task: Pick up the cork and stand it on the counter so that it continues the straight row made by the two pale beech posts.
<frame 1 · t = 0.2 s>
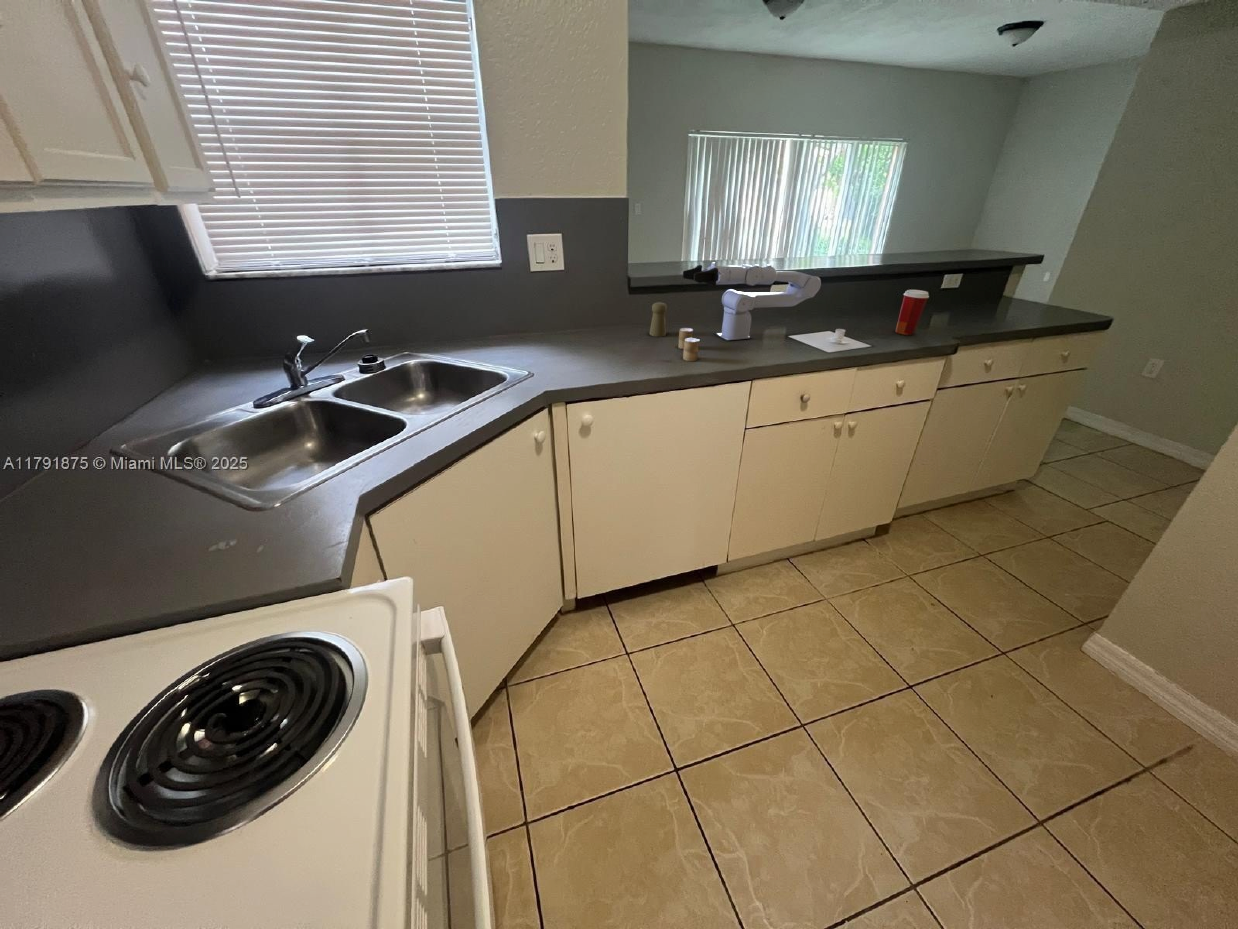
hand: (688, 275, 157), 22 cm above the worktop, tool horizontal, fingers open, 7 cm apart
post 1: (684, 347, 162), on the worktop
coffee cup: (903, 333, 184), on the worktop
cork: (657, 334, 175), on the worktop
teacup and saucer: (828, 341, 172), on the worktop
post 2: (689, 358, 152), on the worktop
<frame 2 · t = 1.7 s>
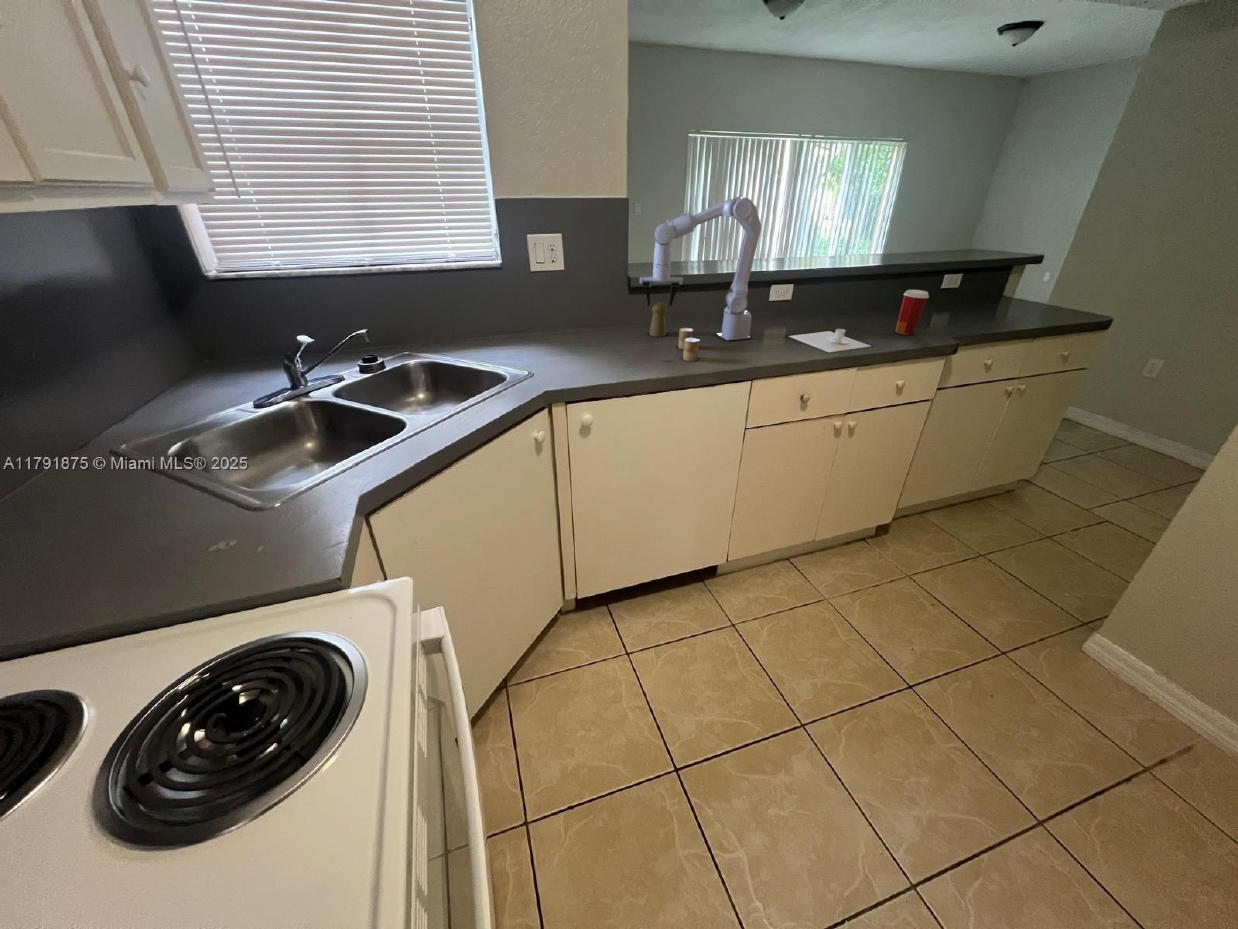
hand: (659, 305, 170), 10 cm above the worktop, tool pointing down, fingers open, 7 cm apart
nothing on the worktop moved.
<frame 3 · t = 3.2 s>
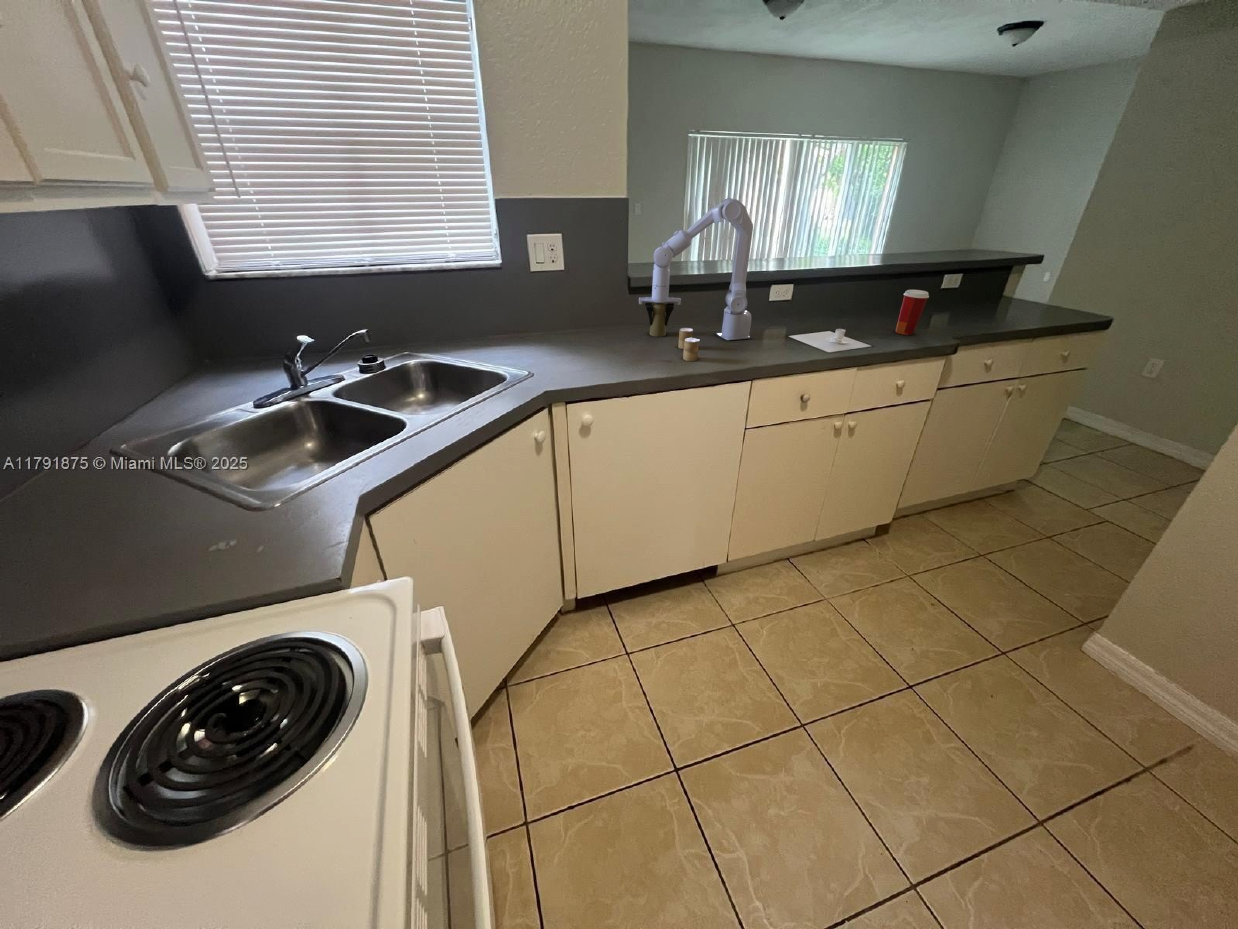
hand: (658, 324, 173), 3 cm above the worktop, tool pointing down, fingers closed on cork, 5 cm apart
cork: (657, 334, 175), on the worktop, touching gripper
everything else where it was.
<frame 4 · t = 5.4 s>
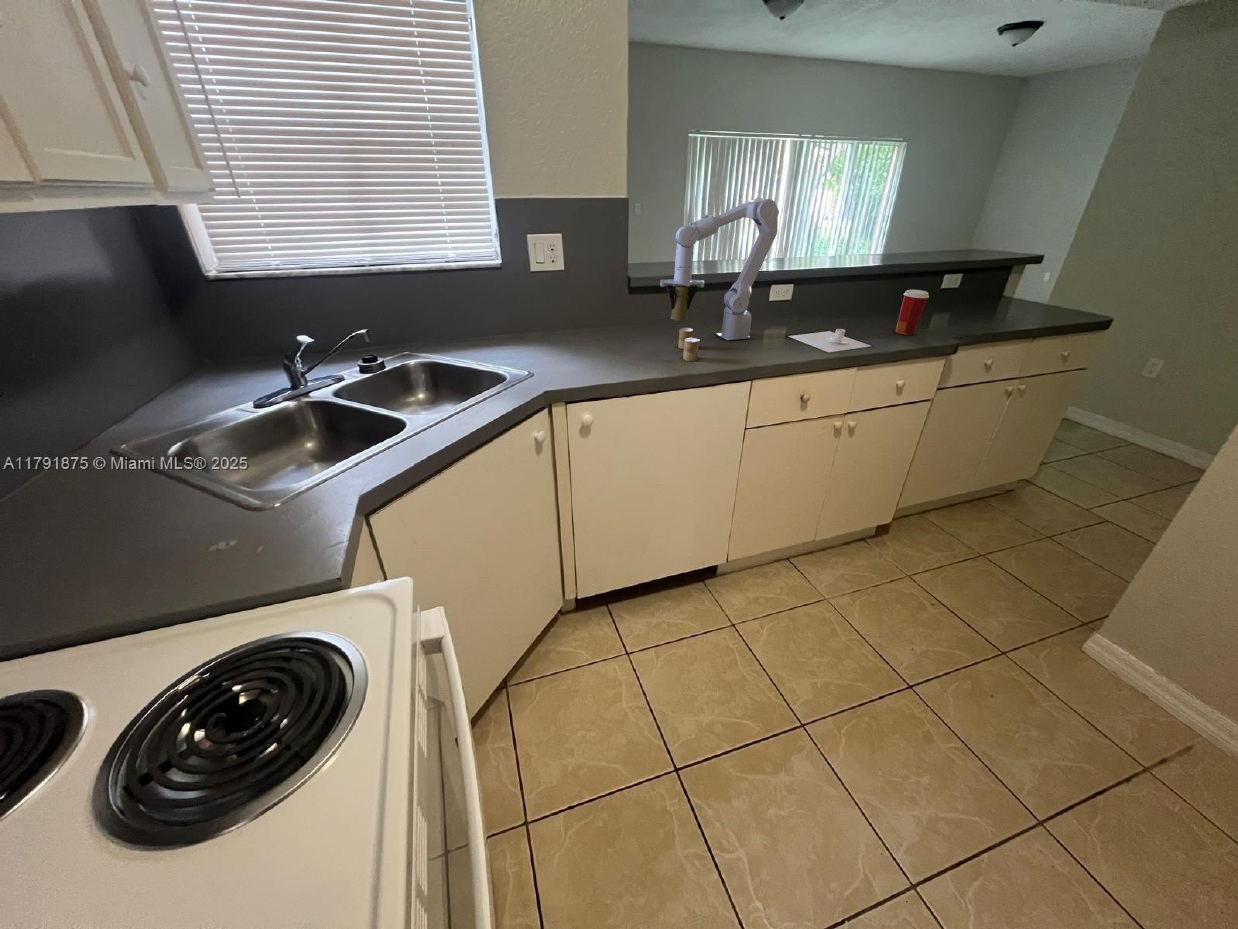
hand: (680, 308, 168), 10 cm above the worktop, tool pointing down, fingers closed on cork, 5 cm apart
cork: (679, 318, 169), point 6 cm above the worktop, touching gripper
everything else where it was.
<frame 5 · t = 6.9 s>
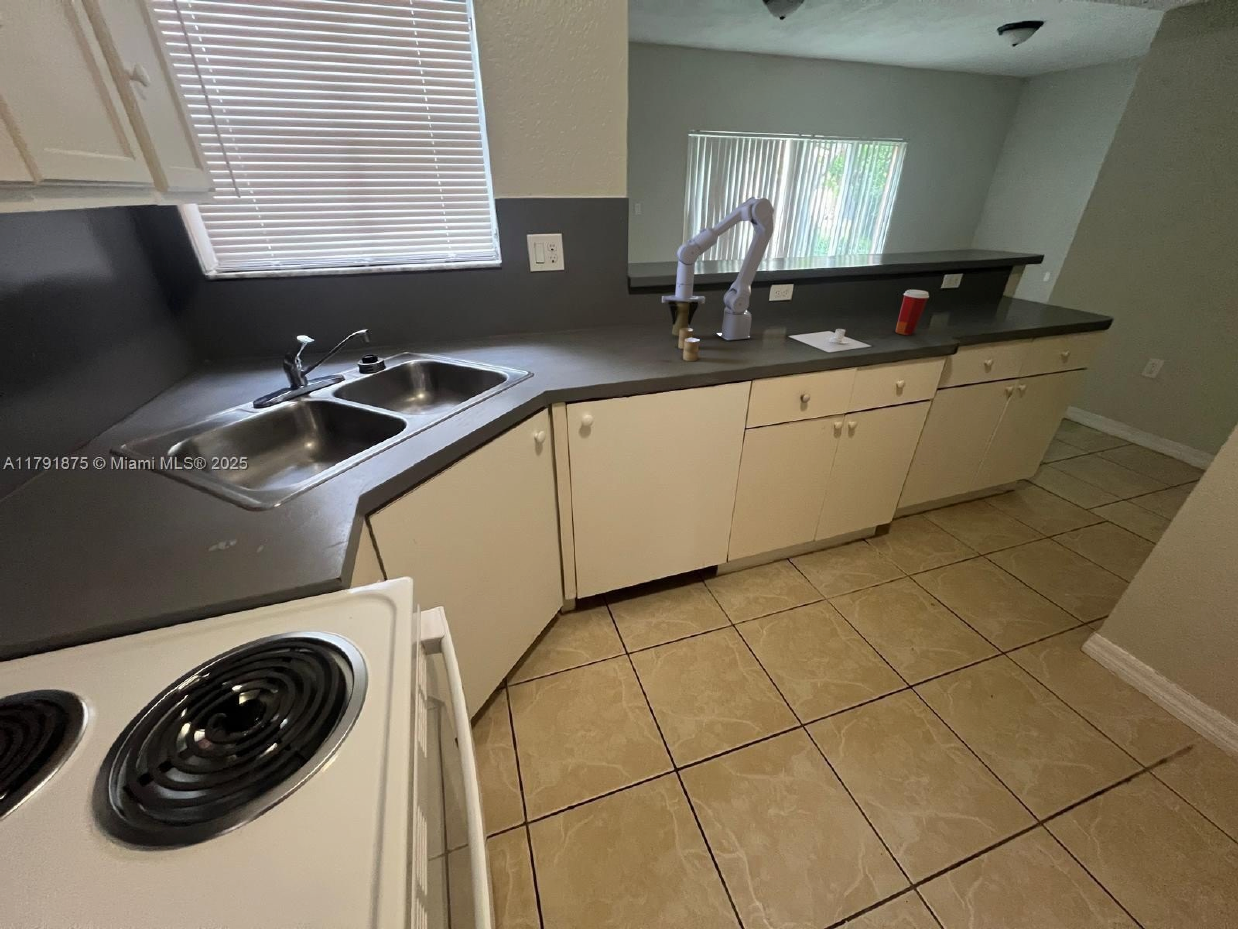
hand: (681, 323, 170), 5 cm above the worktop, tool pointing down, fingers closed on cork, 5 cm apart
cork: (680, 334, 172), point 1 cm above the worktop, touching gripper
everything else where it was.
when the fingers open (3 cm above the worktop, at t = 7.8 s): cork stays where it is, on the worktop.
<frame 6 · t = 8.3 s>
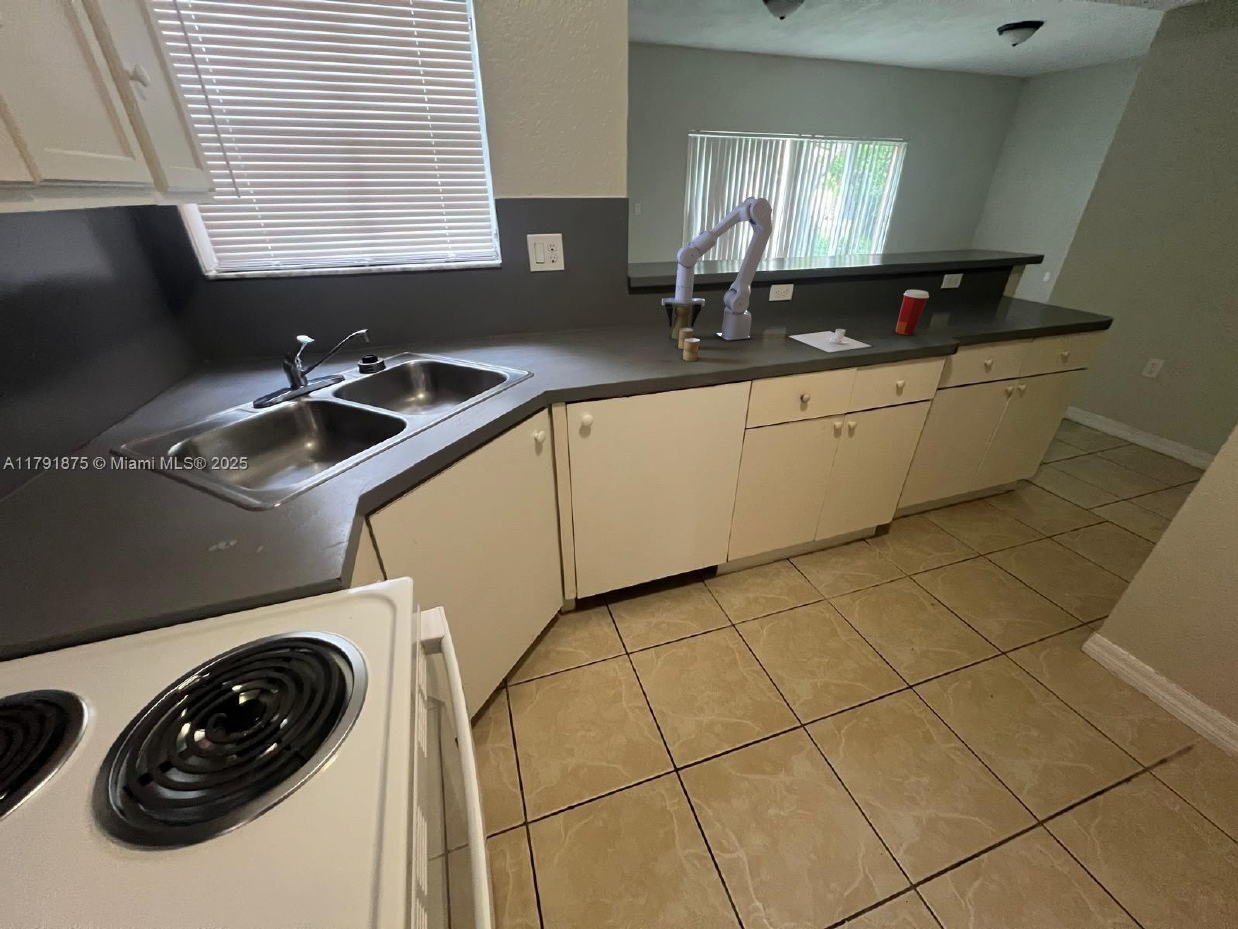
hand: (681, 326, 170), 4 cm above the worktop, tool pointing down, fingers open, 7 cm apart
cork: (680, 337, 172), on the worktop
everything else where it was.
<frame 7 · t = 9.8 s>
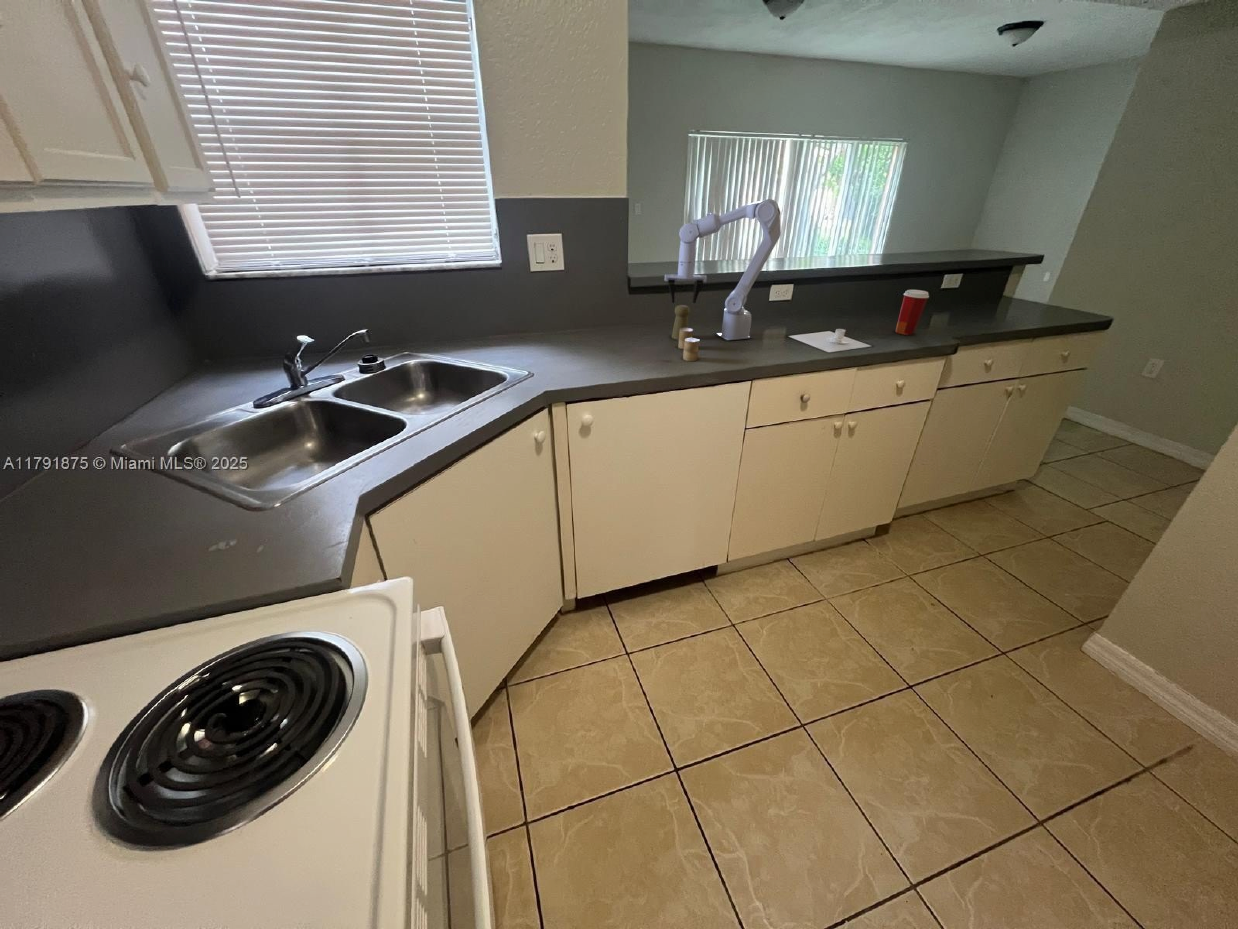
hand: (683, 302, 174), 10 cm above the worktop, tool pointing down, fingers open, 7 cm apart
nothing on the worktop moved.
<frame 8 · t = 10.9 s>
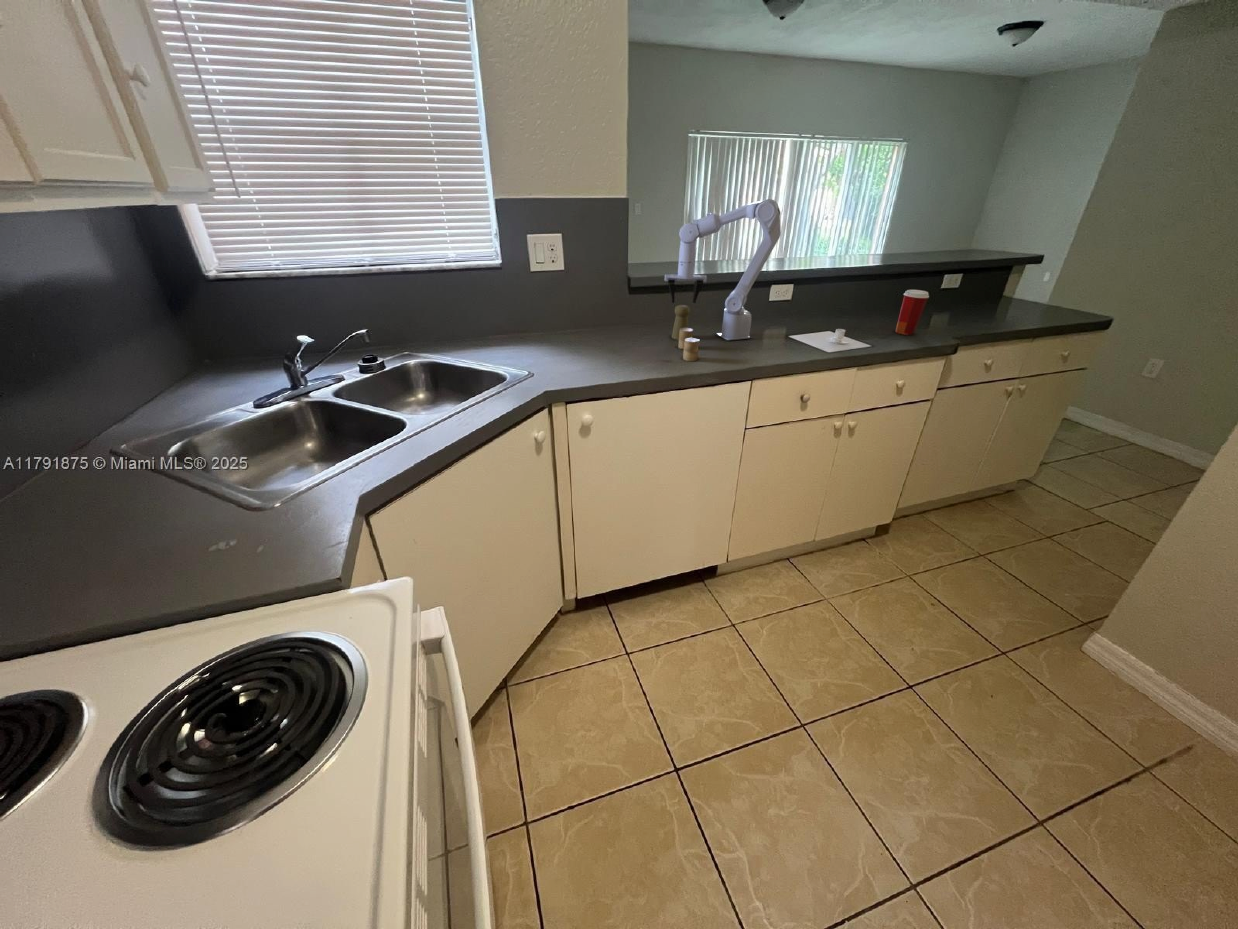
hand: (683, 302, 174), 10 cm above the worktop, tool pointing down, fingers open, 7 cm apart
nothing on the worktop moved.
at the end: cork 0.0 cm from the target spot on the worktop beside the post 2, on the worktop; cork tilted 0°; post 2 moved 0.0 cm from its start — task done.
